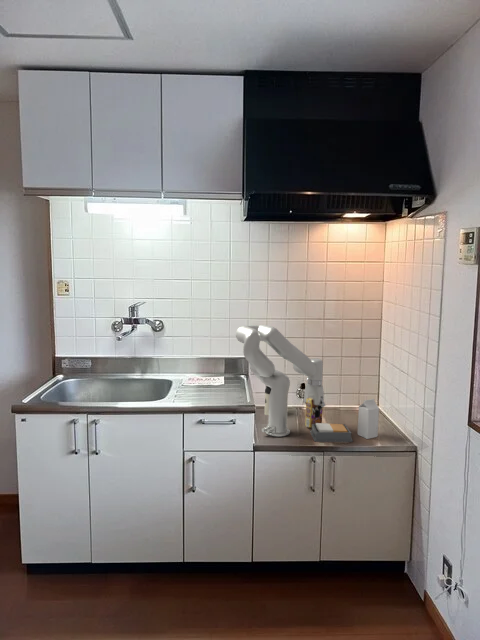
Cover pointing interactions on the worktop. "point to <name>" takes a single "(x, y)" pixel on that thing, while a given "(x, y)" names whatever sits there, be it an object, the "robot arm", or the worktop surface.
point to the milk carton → (368, 419)
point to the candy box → (311, 413)
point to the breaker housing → (330, 435)
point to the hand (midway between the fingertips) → (313, 415)
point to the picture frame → (330, 427)
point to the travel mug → (267, 400)
